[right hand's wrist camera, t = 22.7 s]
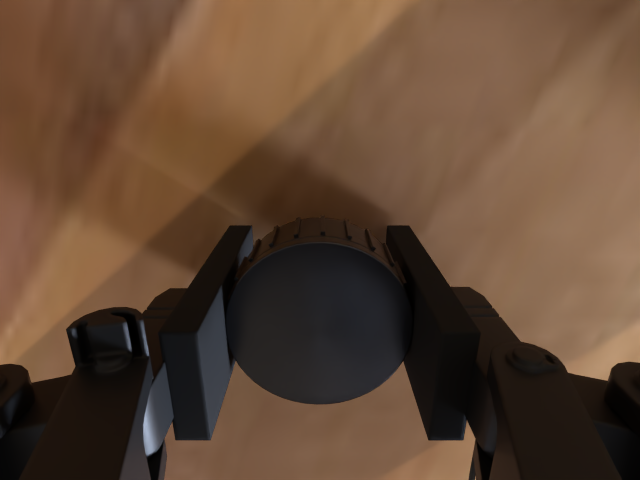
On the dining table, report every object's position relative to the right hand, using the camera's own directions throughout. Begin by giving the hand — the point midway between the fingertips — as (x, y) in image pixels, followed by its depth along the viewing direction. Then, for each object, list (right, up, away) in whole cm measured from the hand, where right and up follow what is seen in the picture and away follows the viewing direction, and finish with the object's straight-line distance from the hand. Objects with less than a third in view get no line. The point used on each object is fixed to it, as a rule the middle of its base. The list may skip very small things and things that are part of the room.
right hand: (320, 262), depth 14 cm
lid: (0, -1, -4) cm, 4 cm away
